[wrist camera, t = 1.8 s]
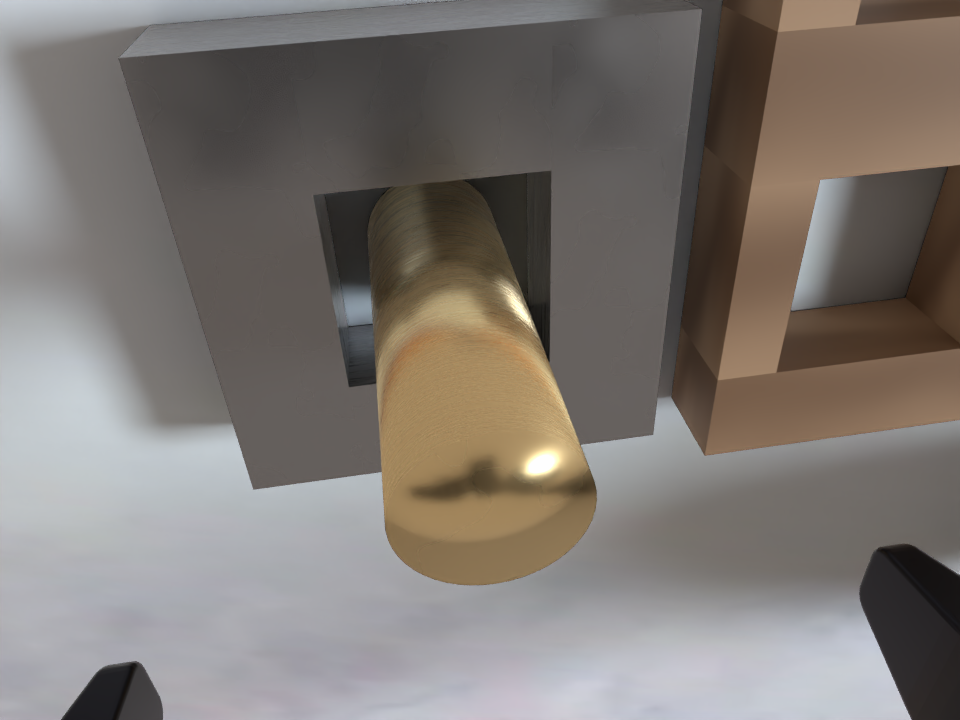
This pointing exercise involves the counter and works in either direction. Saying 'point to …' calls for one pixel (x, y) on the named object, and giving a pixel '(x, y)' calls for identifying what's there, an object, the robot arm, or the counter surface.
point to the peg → (466, 397)
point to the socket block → (408, 161)
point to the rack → (787, 215)
